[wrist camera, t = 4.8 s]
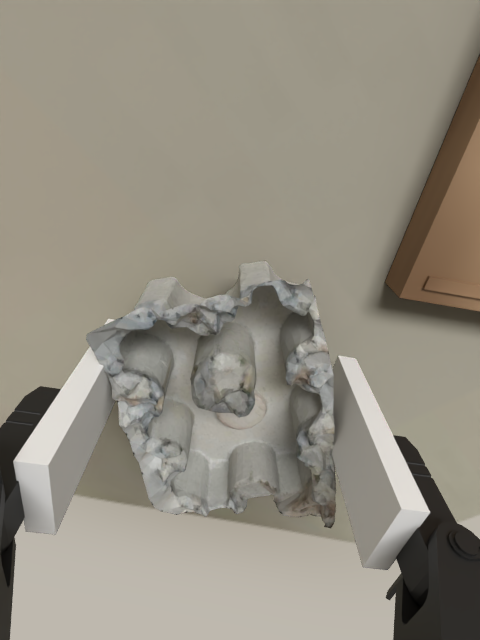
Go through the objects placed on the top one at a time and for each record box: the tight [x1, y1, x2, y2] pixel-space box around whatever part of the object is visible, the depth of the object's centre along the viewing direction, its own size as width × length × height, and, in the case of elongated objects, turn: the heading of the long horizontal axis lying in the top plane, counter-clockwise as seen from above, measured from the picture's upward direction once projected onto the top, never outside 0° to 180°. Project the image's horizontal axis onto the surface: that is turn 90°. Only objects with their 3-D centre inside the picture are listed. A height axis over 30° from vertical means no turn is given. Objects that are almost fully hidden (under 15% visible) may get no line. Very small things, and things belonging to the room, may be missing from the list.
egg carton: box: [86, 261, 336, 528], centre depth 14 cm, size 11×8×4 cm
